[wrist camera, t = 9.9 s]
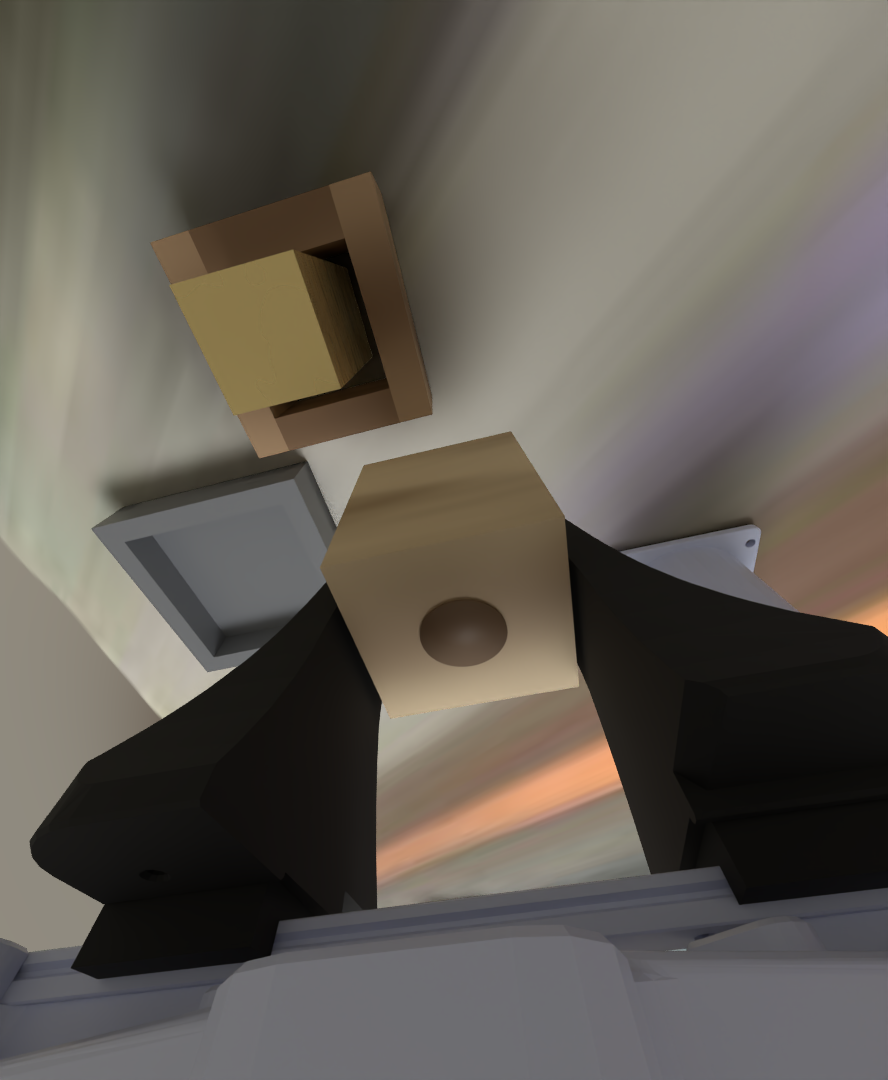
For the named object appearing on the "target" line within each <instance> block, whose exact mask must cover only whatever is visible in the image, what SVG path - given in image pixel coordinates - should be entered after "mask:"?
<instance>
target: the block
mask: <svg viewBox="0 0 888 1080" xmlns="http://www.w3.org/2000/svg"><path fill="white" fill-rule="evenodd" d="M320 569H321V571H322V573H323V576H324V578H325V580H326V582H327V584H328V586H329V588H330V591H331V593H332V595H333V597H334V599H335V601H336V603H337V606H338V608H339V610H340V612H341V614H342V616H343V618H344V621H345V623H346V625H347V627H348V629H349V631H350V633H351V635H352V638H353V640H354V642H355V644H356V646H357V648H358V650H359V653H360V655H361V657H362V659H363V661H364V663H365V665H366V668H367V670H368V672H369V674H370V676H371V678H372V680H373V683H374V685H375V687H376V689H377V691H378V693H379V695H380V698H381V700H382V702H383V704H384V706H385V708H386V710H387V712H388V715H389V717H390V719H391V718H397V717H403V716H409V715H415V714H421V713H426V712H432V711H438V710H444V709H450V708H456V707H462V706H467V705H473V704H479V703H485V702H491V701H497V700H503V699H508V698H514V697H520V696H526V695H532V694H538V693H544V692H549V691H555V690H561V689H567V688H573V687H579V682H578V670H577V658H576V646H575V634H574V622H573V610H572V598H571V586H570V574H569V562H568V550H567V538H566V526H565V516H564V514H563V513H562V511H561V510H560V508H559V507H558V505H557V503H556V502H555V500H554V499H553V497H552V496H551V494H550V492H549V491H548V489H547V488H546V486H545V484H544V483H543V481H542V480H541V478H540V477H539V475H538V473H537V472H536V470H535V469H534V467H533V466H532V464H531V462H530V461H529V459H528V458H527V456H526V454H525V453H524V451H523V450H522V448H521V447H520V445H519V443H518V442H517V440H516V439H515V437H514V436H513V434H512V432H511V431H510V432H506V433H502V434H497V435H493V436H489V437H485V438H480V439H476V440H472V441H467V442H463V443H459V444H454V445H450V446H446V447H441V448H437V449H433V450H428V451H424V452H420V453H415V454H411V455H407V456H403V457H398V458H394V459H390V460H385V461H381V462H377V463H372V464H368V465H364V466H363V469H362V471H361V473H360V476H359V478H358V480H357V483H356V485H355V487H354V490H353V492H352V494H351V496H350V499H349V501H348V503H347V506H346V508H345V510H344V513H343V515H342V517H341V520H340V522H339V524H338V527H337V529H336V531H335V534H334V536H333V538H332V540H331V543H330V545H329V547H328V550H327V552H326V554H325V557H324V559H323V561H322V564H321V566H320Z"/></svg>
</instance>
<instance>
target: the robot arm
mask: <svg viewBox="0 0 888 1080" xmlns="http://www.w3.org/2000/svg"><path fill="white" fill-rule="evenodd" d="M565 526H566V538H567V550H568V562H569V574H570V586H571V598H572V610H573V622H574V634H575V646H576V658H577V664H578V666H579V668H580V670H581V672H582V674H583V676H584V679H585V681H586V684H587V686H588V688H589V691H590V693H591V696H592V699H593V702H594V704H595V707H596V710H597V713H598V716H599V719H600V721H601V724H602V727H603V730H604V733H605V736H606V739H607V741H608V744H609V747H610V750H611V753H612V756H613V759H614V762H615V765H616V768H617V771H618V774H619V777H620V780H621V783H622V786H623V789H624V792H625V795H626V798H627V801H628V804H629V807H630V810H631V813H632V816H633V819H634V822H635V825H636V829H637V832H638V835H639V838H640V841H641V844H642V847H643V851H644V854H645V857H646V860H647V863H648V866H649V870H650V873H651V875H643V876H635V877H627V878H619V879H611V880H603V881H595V882H587V883H579V884H571V885H563V886H555V887H547V888H539V889H531V890H523V891H515V892H507V893H499V894H491V895H483V896H475V897H467V898H459V899H451V900H443V901H435V902H427V903H419V904H411V905H403V906H395V907H387V908H379V909H377V876H376V790H377V755H378V733H379V720H380V711H381V704H382V700H381V698H380V695H379V693H378V691H377V689H376V687H375V685H374V683H373V680H372V678H371V676H370V674H369V672H368V670H367V668H366V665H365V663H364V661H363V659H362V657H361V655H360V653H359V650H358V648H357V646H356V644H355V642H354V640H353V638H352V635H351V633H350V631H349V629H348V627H347V625H346V623H345V621H344V618H343V616H342V614H341V612H340V610H339V608H338V606H337V603H336V601H335V599H334V597H333V595H332V593H331V591H330V588H329V586H328V584H327V582H326V583H325V584H324V585H323V586H322V587H321V588H320V589H319V590H318V592H317V593H316V594H315V595H314V596H313V597H312V598H311V599H310V600H309V602H308V603H307V604H306V605H305V606H304V607H303V608H302V609H301V610H300V611H299V612H298V613H297V614H296V615H295V616H294V617H293V618H292V619H291V620H290V621H289V622H288V623H287V624H286V625H285V626H284V627H283V628H282V629H281V630H280V631H279V632H278V633H277V634H276V635H275V636H274V637H272V638H271V639H270V640H269V641H268V642H267V643H266V644H265V645H263V646H262V647H261V648H260V649H259V650H258V651H256V652H255V653H254V654H253V655H252V656H250V657H249V658H248V659H247V660H246V661H244V662H243V663H242V664H240V665H239V666H238V667H236V668H235V669H234V670H232V671H231V672H230V673H228V674H227V675H226V676H224V677H223V678H222V679H220V680H219V681H218V682H216V683H215V684H214V685H212V686H211V687H210V688H208V689H207V690H206V691H204V692H203V693H201V694H200V695H198V696H197V697H195V698H194V699H192V700H191V701H189V702H188V703H186V704H185V705H183V706H182V707H180V708H179V709H177V710H176V711H174V712H172V713H171V714H169V715H168V716H166V717H165V718H163V719H161V720H160V721H158V722H157V723H155V724H153V725H152V726H150V727H148V728H147V729H145V730H143V731H141V732H140V733H138V734H136V735H134V736H133V737H131V738H129V739H127V740H126V741H124V742H122V743H120V744H119V745H117V746H115V747H113V748H112V749H110V750H108V751H107V752H105V753H103V754H101V755H99V756H97V757H96V758H94V759H92V760H90V761H88V762H87V763H86V764H85V765H84V766H83V768H82V769H81V771H80V772H79V773H78V775H77V776H76V777H75V779H74V780H73V782H72V783H71V784H70V786H69V787H68V789H67V790H66V791H65V793H64V794H63V795H62V797H61V798H60V800H59V801H58V802H57V804H56V805H55V806H54V808H53V809H52V810H51V812H50V813H49V815H48V816H47V817H46V818H45V820H44V821H43V823H42V824H41V825H40V827H39V828H38V829H37V831H36V832H35V834H34V835H33V837H32V838H31V840H30V848H31V854H32V857H33V859H34V860H35V861H36V862H37V864H38V865H39V866H40V867H41V868H42V869H44V870H45V871H46V872H48V873H49V874H51V875H52V876H54V877H55V878H57V879H59V880H61V881H63V882H65V883H66V884H68V885H70V886H72V887H73V888H75V889H77V890H79V891H81V892H83V893H84V894H86V895H88V896H90V897H92V898H93V899H95V900H97V901H99V902H101V903H102V904H105V905H104V907H103V908H102V910H101V912H100V914H99V916H98V918H97V920H96V921H95V923H94V925H93V927H92V929H91V931H90V933H89V935H88V937H87V938H86V940H85V942H84V944H83V946H75V947H67V948H59V949H51V950H43V951H35V952H27V949H26V948H25V947H23V946H21V945H19V944H17V943H14V942H12V941H9V940H5V939H2V938H0V1080H888V637H887V636H886V635H885V634H883V633H882V632H880V631H879V630H878V629H876V628H875V627H873V626H869V625H863V624H858V623H853V622H847V621H842V620H837V619H831V618H826V617H821V616H815V615H810V614H804V613H800V612H799V611H797V610H796V609H795V608H794V607H793V606H792V605H790V604H789V603H788V602H787V601H786V600H784V599H783V598H782V597H781V596H780V595H779V594H777V593H776V592H775V591H774V590H773V589H772V588H770V587H769V586H768V585H767V584H766V583H765V582H763V581H762V580H761V579H760V578H759V577H758V576H756V575H755V574H754V573H753V571H754V566H755V561H756V556H757V551H758V546H759V541H760V536H761V530H760V528H758V527H757V526H755V525H753V524H752V525H745V526H740V527H735V528H731V529H726V530H721V531H716V532H711V533H707V534H702V535H697V536H692V537H687V538H683V539H678V540H673V541H668V542H663V543H659V544H654V545H649V546H644V547H639V548H635V549H630V550H625V551H620V552H619V551H617V550H615V549H613V548H612V547H610V546H608V545H606V544H604V543H603V542H601V541H599V540H598V539H596V538H594V537H593V536H591V535H589V534H588V533H586V532H585V531H583V530H582V529H580V528H578V527H577V526H575V525H574V524H572V523H571V522H569V521H568V520H566V519H565ZM748 540H750V541H749V542H748V543H746V542H747V541H748ZM686 948H687V950H686V951H668V950H677V949H686Z"/></svg>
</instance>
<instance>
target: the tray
mask: <svg viewBox="0 0 888 1080" xmlns="http://www.w3.org/2000/svg"><path fill="white" fill-rule="evenodd" d="M336 529H337V528H336V526H335V523H334V521H333V519H332V517H331V514H330V512H329V510H328V508H327V505H326V503H325V501H324V498H323V496H322V494H321V492H320V489H319V487H318V485H317V483H316V480H315V478H314V476H313V474H312V471H311V469H310V467H309V464H308V462H303V463H299V464H295V465H291V466H287V467H283V468H279V469H275V470H271V471H267V472H263V473H259V474H255V475H251V476H247V477H243V478H239V479H235V480H231V481H227V482H223V483H219V484H215V485H211V486H207V487H203V488H199V489H195V490H191V491H187V492H183V493H179V494H175V495H171V496H167V497H163V498H159V499H155V500H151V501H147V502H143V503H139V504H135V505H131V506H127V507H123V508H121V509H120V510H118V511H117V512H115V513H114V514H112V515H111V516H109V517H108V518H106V519H105V520H103V521H102V522H100V523H99V524H97V525H96V526H95V527H93V528H92V531H93V532H94V533H95V534H96V535H97V537H98V538H99V539H100V540H101V542H102V543H103V544H104V545H105V547H106V548H107V549H108V550H109V551H110V553H111V554H112V555H113V556H114V558H115V559H116V560H117V561H118V563H119V564H120V565H121V566H122V568H123V569H124V570H125V571H126V572H127V574H128V575H129V576H130V577H131V579H132V580H133V581H134V582H135V584H136V585H137V586H138V587H139V588H140V590H141V591H142V592H143V593H144V595H145V596H146V597H147V598H148V600H149V601H150V602H151V603H152V604H153V606H154V607H155V608H156V609H157V611H158V612H159V613H160V614H161V616H162V617H163V618H164V619H165V620H166V622H167V623H168V624H169V625H170V627H171V628H172V629H173V630H174V632H175V633H176V634H177V635H178V636H179V638H180V639H181V640H182V641H183V643H184V644H185V645H186V646H187V648H188V649H189V650H190V651H191V652H192V654H193V655H194V656H195V657H196V659H197V660H198V661H199V662H200V664H201V665H202V666H203V667H204V669H205V670H206V671H207V672H211V671H216V670H221V669H226V668H231V667H236V666H239V665H240V664H242V663H243V662H244V661H246V660H247V659H248V658H249V657H250V656H252V655H253V654H254V653H255V652H256V651H258V650H259V649H260V648H261V647H262V646H263V645H265V644H266V643H267V642H268V641H269V640H270V639H271V638H272V637H274V636H275V635H276V634H277V633H278V632H279V631H280V630H281V629H282V628H283V627H284V626H285V625H286V624H287V623H288V622H289V621H290V620H291V619H292V618H293V617H294V616H295V615H296V614H297V613H298V612H299V611H300V610H301V609H302V608H303V607H304V606H305V605H306V604H307V603H308V602H309V600H310V599H311V598H312V597H313V596H314V595H315V594H316V593H317V592H318V590H319V589H320V588H321V587H322V586H323V585H324V584H325V583H326V580H325V578H324V576H323V573H322V571H321V569H320V566H321V564H322V561H323V559H324V557H325V554H326V552H327V550H328V547H329V545H330V543H331V540H332V538H333V536H334V534H335V531H336Z"/></svg>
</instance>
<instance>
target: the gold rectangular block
mask: <svg viewBox="0 0 888 1080" xmlns="http://www.w3.org/2000/svg"><path fill="white" fill-rule="evenodd" d="M169 286H170V288H171V290H172V292H173V294H174V296H175V298H176V300H177V302H178V304H179V306H180V308H181V310H182V312H183V314H184V316H185V318H186V320H187V322H188V324H189V326H190V328H191V330H192V332H193V334H194V336H195V338H196V340H197V342H198V344H199V346H200V348H201V350H202V352H203V354H204V356H205V358H206V360H207V362H208V364H209V366H210V368H211V370H212V372H213V374H214V376H215V379H216V381H217V383H218V385H219V387H220V389H221V391H222V393H223V395H224V397H225V399H226V401H227V403H228V405H229V407H230V409H231V411H232V413H233V415H238V414H242V413H246V412H250V411H254V410H258V409H262V408H266V407H270V406H274V405H278V404H282V403H286V402H290V401H294V400H298V399H302V398H306V397H310V396H314V395H318V394H322V393H326V392H330V391H334V390H338V389H341V388H342V387H343V386H344V385H345V384H346V383H347V382H348V381H349V380H350V379H351V378H352V377H353V376H354V375H355V374H356V373H357V372H358V371H359V370H360V369H361V368H362V367H363V366H364V365H365V364H366V363H367V362H368V361H369V360H370V359H371V358H372V357H373V355H372V352H371V348H370V345H369V341H368V338H367V335H366V331H365V328H364V324H363V321H362V318H361V314H360V311H359V307H358V304H357V301H356V297H355V294H354V290H353V287H352V284H351V280H350V277H349V273H348V270H347V268H345V267H342V266H339V265H337V264H334V263H331V262H328V261H325V260H322V259H319V258H316V257H313V256H310V255H308V254H305V253H302V252H299V251H296V250H289V251H286V252H282V253H279V254H276V255H272V256H269V257H265V258H262V259H258V260H255V261H251V262H248V263H244V264H241V265H237V266H234V267H230V268H227V269H223V270H220V271H216V272H213V273H210V274H206V275H203V276H199V277H196V278H192V279H189V280H185V281H182V282H178V283H175V284H171V285H169Z"/></svg>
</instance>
